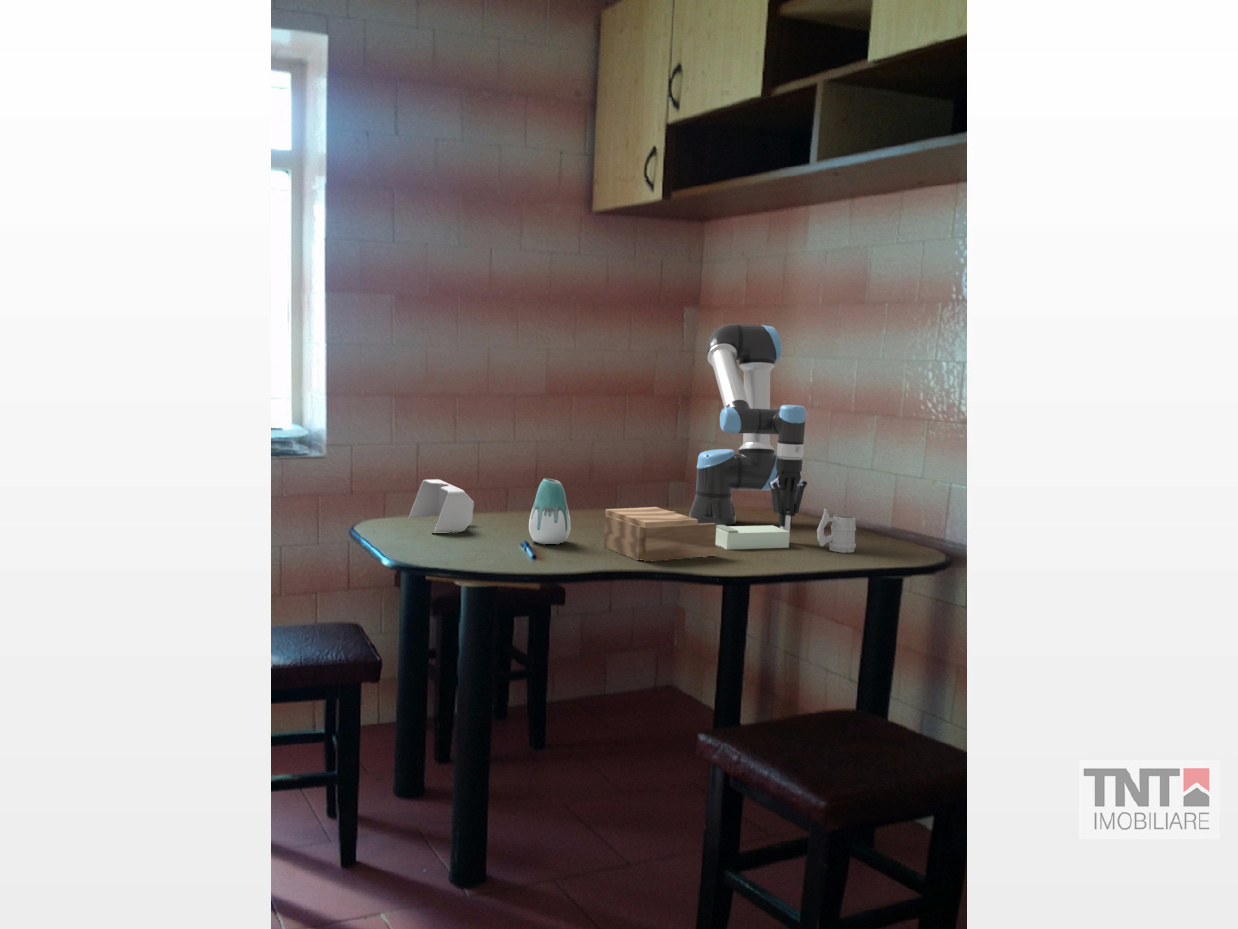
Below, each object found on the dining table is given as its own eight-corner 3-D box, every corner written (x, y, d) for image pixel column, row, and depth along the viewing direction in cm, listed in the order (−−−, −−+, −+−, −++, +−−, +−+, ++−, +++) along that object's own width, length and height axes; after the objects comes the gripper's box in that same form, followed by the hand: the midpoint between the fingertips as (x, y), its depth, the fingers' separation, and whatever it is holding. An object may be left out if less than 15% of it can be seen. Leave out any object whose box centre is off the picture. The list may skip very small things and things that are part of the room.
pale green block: (711, 543, 307) (712, 524, 306) (771, 542, 314) (772, 523, 313) (726, 550, 298) (727, 531, 297) (788, 548, 305) (789, 529, 304)
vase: (576, 542, 298) (579, 479, 296) (557, 548, 287) (560, 483, 285) (540, 537, 303) (543, 475, 301) (520, 543, 292) (522, 479, 290)
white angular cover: (486, 532, 306) (487, 490, 304) (432, 535, 299) (433, 491, 297) (458, 518, 328) (459, 478, 326) (407, 520, 321) (408, 479, 319)
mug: (860, 553, 301) (863, 511, 300) (821, 553, 299) (824, 511, 297) (848, 547, 309) (851, 507, 307) (810, 547, 306) (813, 506, 305)
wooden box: (601, 546, 293) (603, 509, 291) (672, 542, 305) (674, 506, 303) (640, 562, 275) (642, 522, 274) (714, 556, 287) (716, 518, 285)
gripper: (780, 459, 302) (775, 540, 305) (815, 459, 309) (809, 538, 312) (764, 456, 309) (759, 536, 312) (798, 456, 316) (793, 533, 318)
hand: (784, 537), depth 312 cm, fingers closed
